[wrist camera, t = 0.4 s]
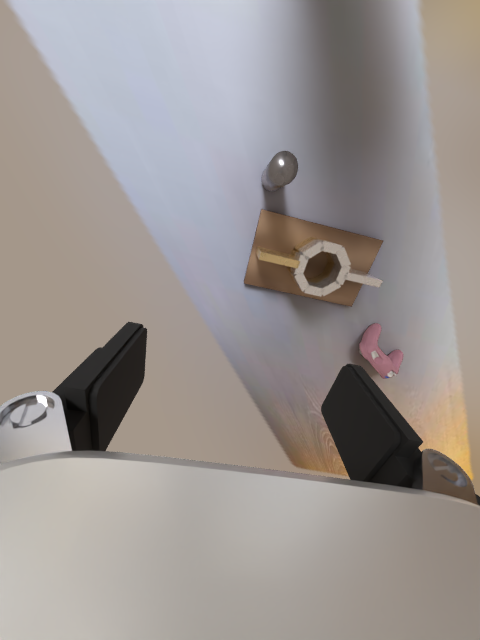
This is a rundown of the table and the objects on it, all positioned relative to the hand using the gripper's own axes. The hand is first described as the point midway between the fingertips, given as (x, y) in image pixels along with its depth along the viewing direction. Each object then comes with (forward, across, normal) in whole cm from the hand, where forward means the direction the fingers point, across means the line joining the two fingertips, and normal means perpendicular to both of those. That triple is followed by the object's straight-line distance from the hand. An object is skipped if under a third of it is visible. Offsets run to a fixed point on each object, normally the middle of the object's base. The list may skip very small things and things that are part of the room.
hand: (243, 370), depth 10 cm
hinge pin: (+28, -2, -12) cm, 30 cm away
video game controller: (+28, -29, +10) cm, 42 cm away
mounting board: (+28, -11, -2) cm, 30 cm away
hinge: (+26, -11, -2) cm, 29 cm away
